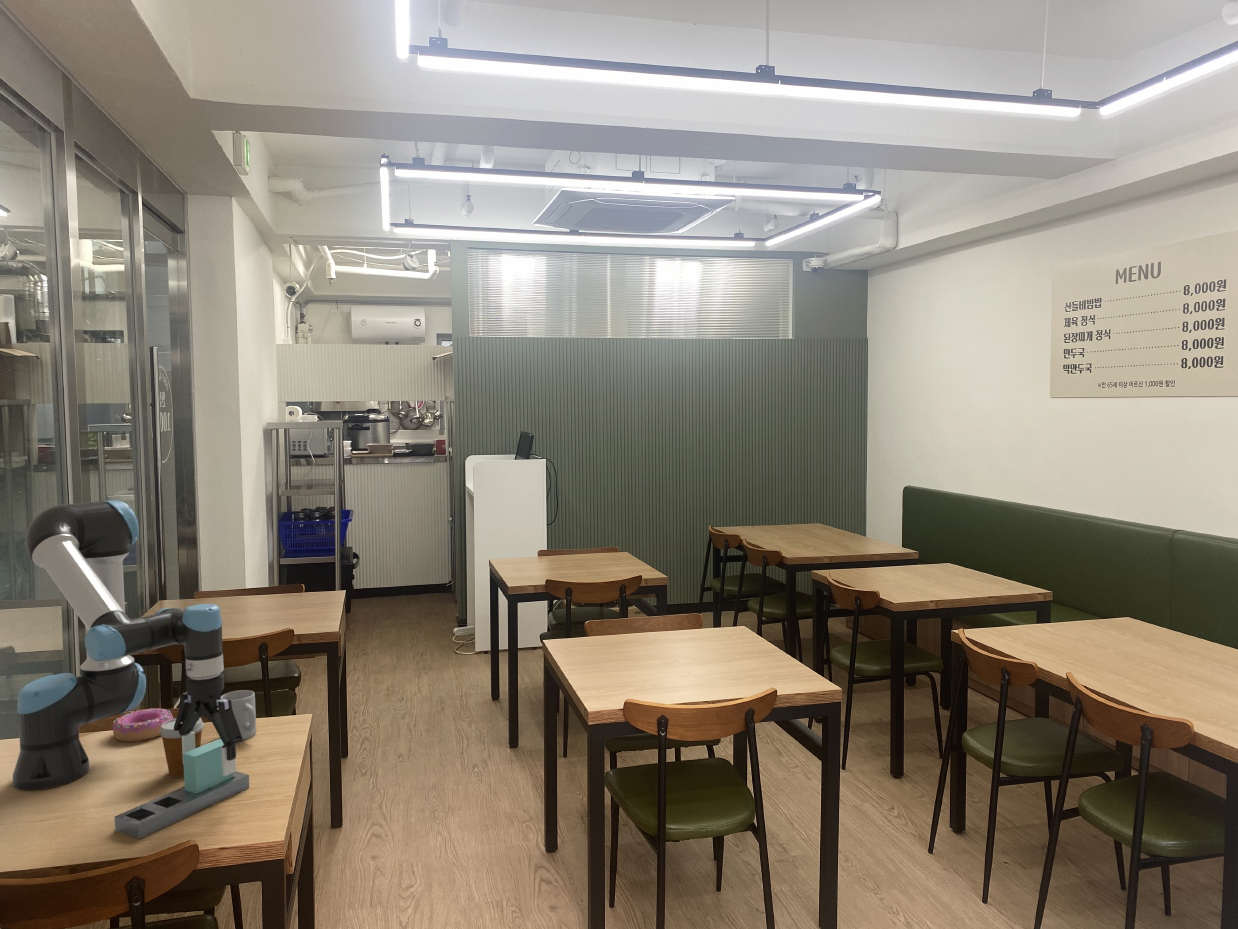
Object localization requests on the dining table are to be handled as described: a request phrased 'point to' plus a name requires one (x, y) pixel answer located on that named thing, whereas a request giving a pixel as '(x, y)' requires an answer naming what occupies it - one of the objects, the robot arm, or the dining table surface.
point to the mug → (243, 711)
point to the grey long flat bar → (175, 807)
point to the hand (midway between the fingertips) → (209, 767)
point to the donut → (140, 724)
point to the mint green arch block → (204, 767)
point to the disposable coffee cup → (177, 745)
